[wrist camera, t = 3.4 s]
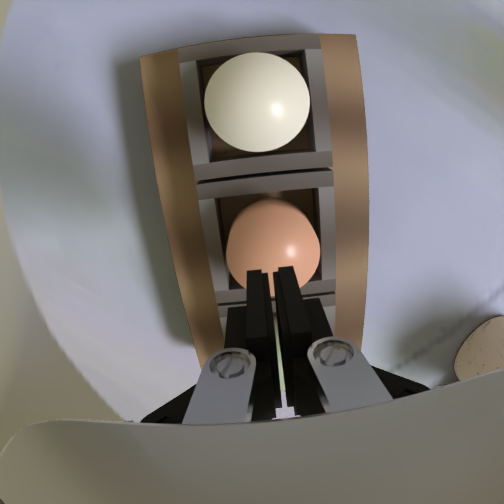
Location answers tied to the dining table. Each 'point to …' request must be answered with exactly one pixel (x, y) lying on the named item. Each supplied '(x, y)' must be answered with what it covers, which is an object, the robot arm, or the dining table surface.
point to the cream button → (257, 102)
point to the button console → (262, 177)
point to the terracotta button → (272, 241)
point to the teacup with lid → (482, 350)
